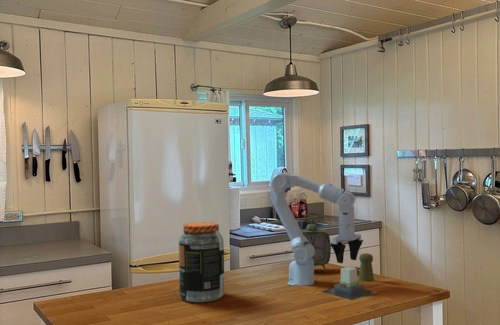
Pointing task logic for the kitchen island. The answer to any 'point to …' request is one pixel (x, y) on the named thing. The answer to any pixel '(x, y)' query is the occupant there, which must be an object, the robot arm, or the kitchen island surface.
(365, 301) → the kitchen island surface
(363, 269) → the green pawn
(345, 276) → the pale grey block
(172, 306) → the kitchen island surface
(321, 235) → the tabletop clock
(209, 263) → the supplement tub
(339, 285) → the stand base
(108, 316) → the kitchen island surface
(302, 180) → the robot arm
